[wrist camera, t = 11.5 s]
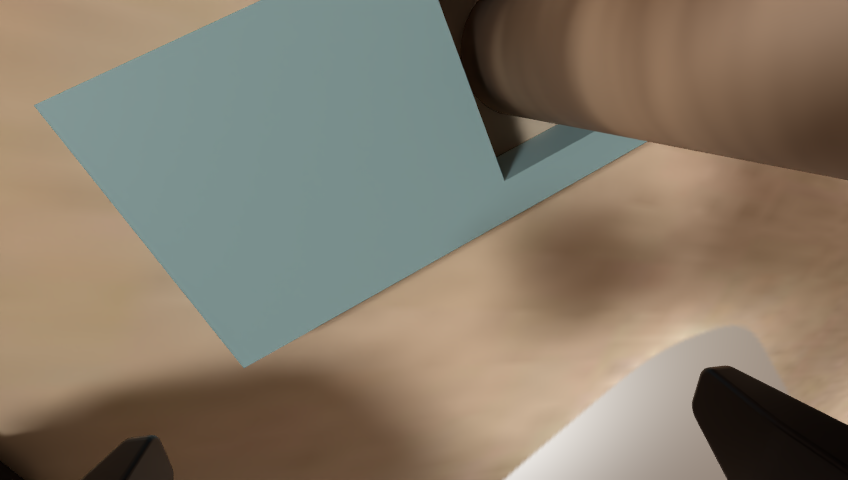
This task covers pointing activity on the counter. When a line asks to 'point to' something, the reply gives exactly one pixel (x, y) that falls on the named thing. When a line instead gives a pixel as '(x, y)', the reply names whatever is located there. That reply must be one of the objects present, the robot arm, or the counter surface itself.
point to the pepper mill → (674, 73)
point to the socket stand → (306, 159)
